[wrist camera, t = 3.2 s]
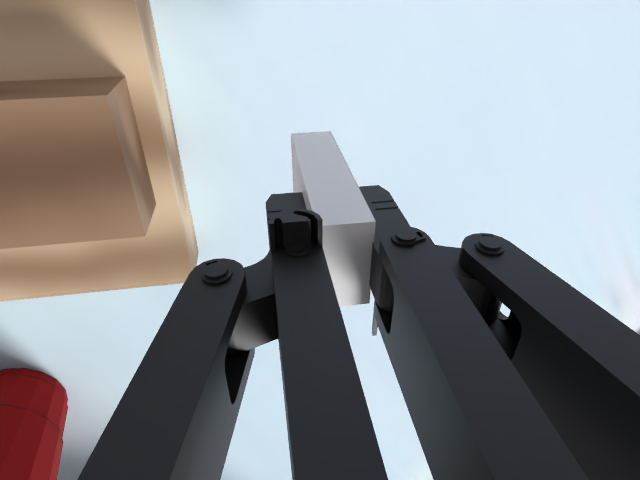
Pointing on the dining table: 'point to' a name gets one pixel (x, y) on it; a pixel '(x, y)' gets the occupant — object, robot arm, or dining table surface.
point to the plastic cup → (30, 425)
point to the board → (154, 129)
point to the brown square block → (71, 163)
